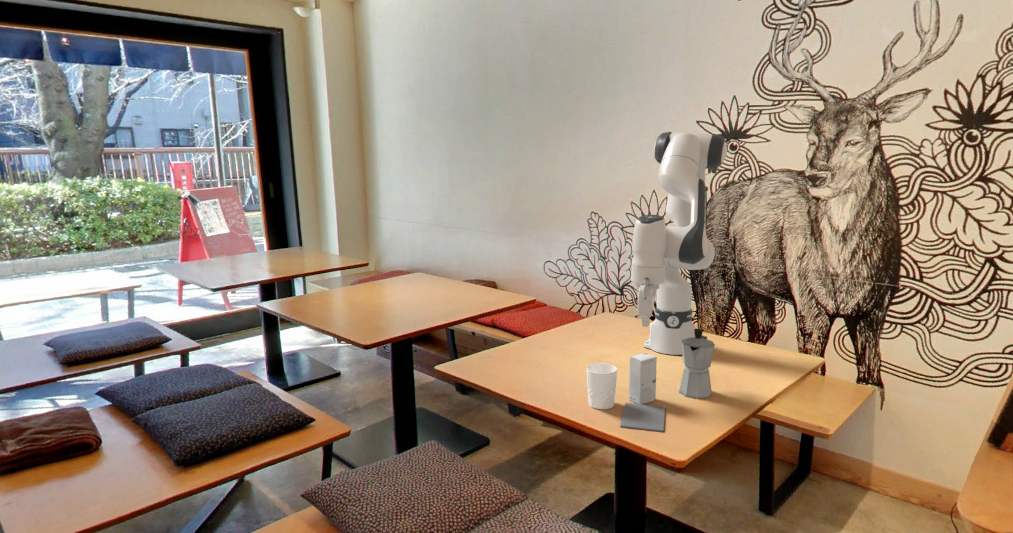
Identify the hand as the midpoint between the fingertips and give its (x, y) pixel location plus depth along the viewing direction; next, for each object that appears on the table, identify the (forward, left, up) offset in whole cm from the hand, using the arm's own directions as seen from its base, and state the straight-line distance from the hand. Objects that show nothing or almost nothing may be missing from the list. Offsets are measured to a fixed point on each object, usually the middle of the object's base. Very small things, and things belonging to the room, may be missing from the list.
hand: (645, 325), depth 161 cm
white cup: (+13, -10, -19) cm, 25 cm away
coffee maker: (-2, +14, -19) cm, 24 cm away
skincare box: (+8, 0, -19) cm, 20 cm away
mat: (+19, +1, -19) cm, 26 cm away
